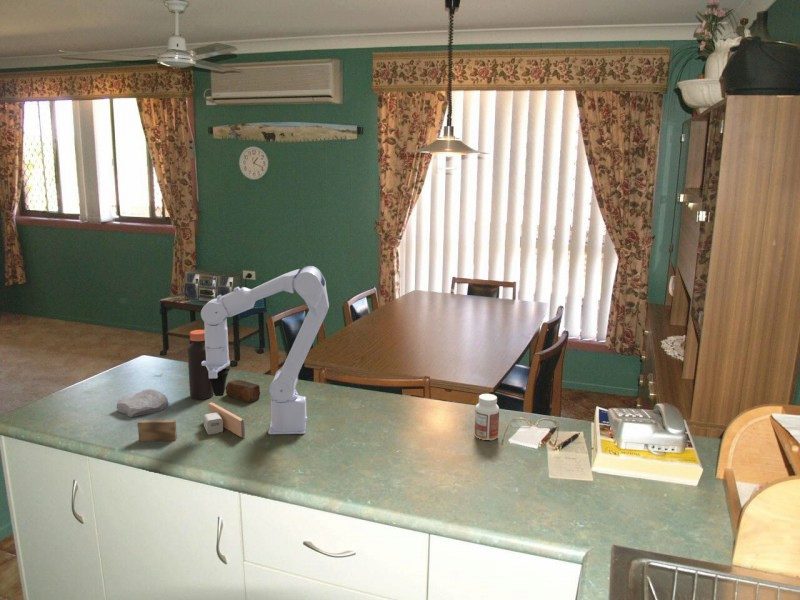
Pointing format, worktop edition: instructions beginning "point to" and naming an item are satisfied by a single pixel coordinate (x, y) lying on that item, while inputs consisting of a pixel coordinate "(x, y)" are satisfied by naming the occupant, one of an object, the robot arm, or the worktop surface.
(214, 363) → the robot arm
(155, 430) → the brown wooden board
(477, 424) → the pill bottle
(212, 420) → the usb wall charger
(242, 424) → the light wood thin slab
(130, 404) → the stone block
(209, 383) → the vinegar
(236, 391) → the brick
